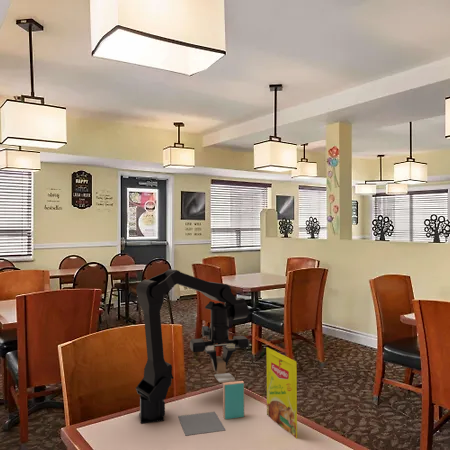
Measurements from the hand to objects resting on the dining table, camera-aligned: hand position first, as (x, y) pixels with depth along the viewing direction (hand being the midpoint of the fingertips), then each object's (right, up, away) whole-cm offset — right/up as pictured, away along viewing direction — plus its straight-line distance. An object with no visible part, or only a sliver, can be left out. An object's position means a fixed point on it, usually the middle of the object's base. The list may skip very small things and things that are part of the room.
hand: (219, 370), depth 138 cm
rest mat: (-5, -9, -19) cm, 21 cm away
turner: (+1, -1, -3) cm, 3 cm away
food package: (+17, -9, -20) cm, 28 cm away
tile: (+4, -9, -15) cm, 18 cm away
